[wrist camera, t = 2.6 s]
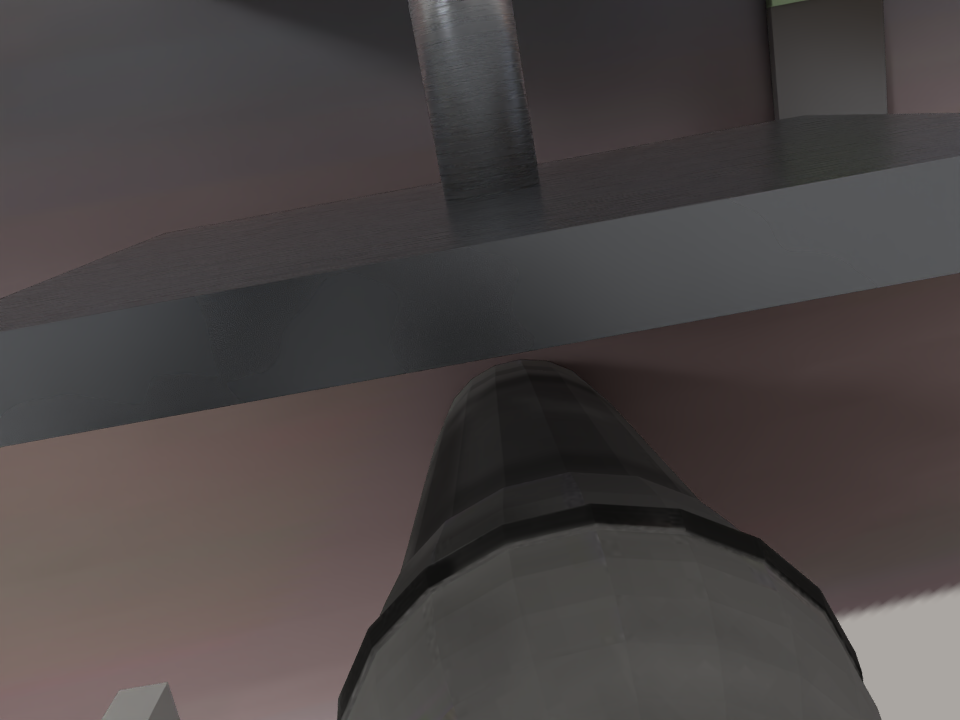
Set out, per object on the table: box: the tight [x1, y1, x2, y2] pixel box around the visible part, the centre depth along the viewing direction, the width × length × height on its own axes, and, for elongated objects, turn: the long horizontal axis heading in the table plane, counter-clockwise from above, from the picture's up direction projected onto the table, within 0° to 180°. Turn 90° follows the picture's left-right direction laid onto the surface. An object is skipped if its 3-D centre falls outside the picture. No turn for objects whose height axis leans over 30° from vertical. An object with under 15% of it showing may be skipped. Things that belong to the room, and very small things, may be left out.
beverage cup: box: [337, 360, 881, 720], centre depth 13 cm, size 7×7×20 cm
